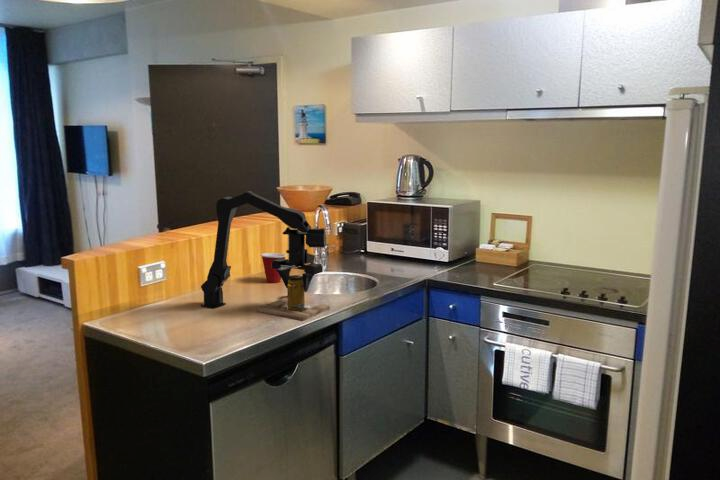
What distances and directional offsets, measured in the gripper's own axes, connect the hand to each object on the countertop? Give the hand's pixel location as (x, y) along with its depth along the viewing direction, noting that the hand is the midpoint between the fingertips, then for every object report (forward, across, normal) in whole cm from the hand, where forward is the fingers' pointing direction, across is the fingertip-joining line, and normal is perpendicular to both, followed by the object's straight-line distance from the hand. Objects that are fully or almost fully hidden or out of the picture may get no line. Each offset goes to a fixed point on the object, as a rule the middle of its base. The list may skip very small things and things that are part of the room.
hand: (296, 289), depth 207 cm
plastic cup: (+7, +32, -27) cm, 42 cm away
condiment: (+7, -1, 0) cm, 7 cm away
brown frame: (+7, 0, +2) cm, 7 cm away
